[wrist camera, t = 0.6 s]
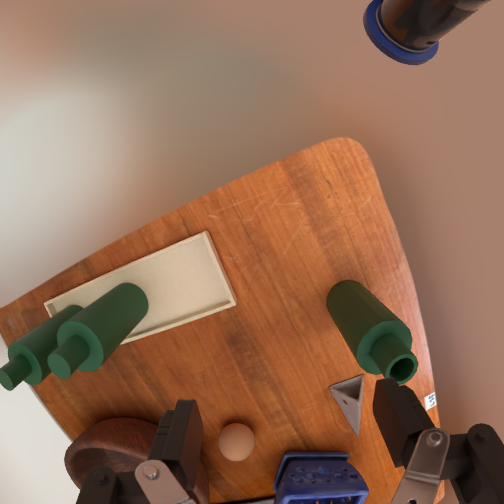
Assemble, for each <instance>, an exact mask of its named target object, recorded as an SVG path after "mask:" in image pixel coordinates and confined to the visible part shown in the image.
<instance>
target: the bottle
mask: <svg viewBox="0 0 504 504" xmlns="http://www.w3.org/2000/svg"><path fill="white" fill-rule="evenodd" d="M327 308H328V311H329V313H330V315H331V317H332V319H333V320H334V322H335V324H336V325H337V327H338V329H339V331H340V332H341V334H342V336H343V338H344V339H345V341H346V343H347V345H348V346H349V348H350V350H351V352H352V353H353V355H354V357H355V359H356V360H357V362H358V364H359V366H360V367H361V368H362V369H363V370H365V371H366V372H367V373H371V374H375V375H378V374H383V376H384V377H385V378H389V377H394V378H395V380H396V381H397V383H398V385H401V384H404V383H406V382H407V381H409V380H410V379H411V378H412V377H413V376H414V374H415V373H416V371H417V367H418V361H417V358H416V356H415V355H414V354H413V353H412V352H411V351H410V350H411V345H412V336H411V332H410V329H409V328H408V327H407V326H406V325H405V324H404V323H403V322H402V321H401V320H400V319H399V318H398V317H397V316H396V315H395V314H393V313H392V312H391V311H390V310H389V309H388V308H387V307H386V306H385V305H384V304H383V303H381V302H380V301H379V300H378V299H377V298H376V297H375V296H374V295H373V294H372V293H370V292H369V291H368V290H367V289H366V288H365V287H364V286H363V285H362V284H360V283H358V282H356V281H353V280H345V281H342V282H340V283H338V284H336V285H335V286H334V287H333V288H332V289H331V291H330V292H329V294H328V297H327Z"/></svg>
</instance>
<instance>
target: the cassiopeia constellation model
mask: <svg viewBox="0 0 504 504" xmlns="http://www.w3.org/2000/svg"><path fill="white" fill-rule="evenodd" d="M274 499H275V497H274V498H269V499H264V500H258V501H252V502H246V503H239V504H273V503H274Z"/></svg>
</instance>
